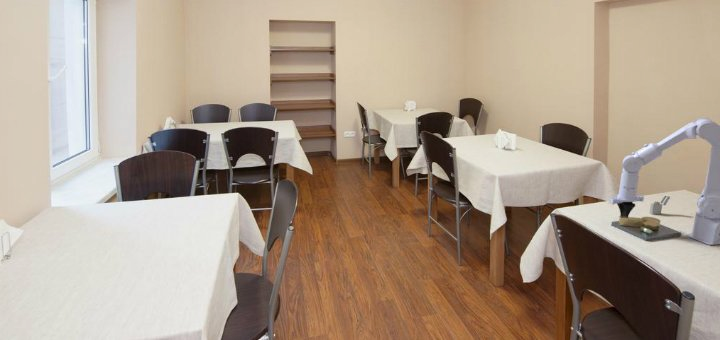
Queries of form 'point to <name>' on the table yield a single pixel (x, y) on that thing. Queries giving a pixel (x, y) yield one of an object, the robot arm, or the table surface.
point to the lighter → (658, 205)
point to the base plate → (646, 236)
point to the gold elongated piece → (640, 222)
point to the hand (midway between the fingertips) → (623, 219)
